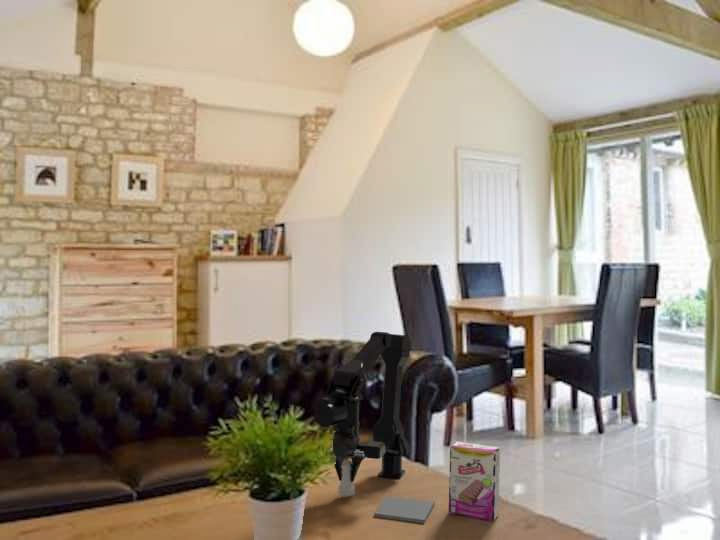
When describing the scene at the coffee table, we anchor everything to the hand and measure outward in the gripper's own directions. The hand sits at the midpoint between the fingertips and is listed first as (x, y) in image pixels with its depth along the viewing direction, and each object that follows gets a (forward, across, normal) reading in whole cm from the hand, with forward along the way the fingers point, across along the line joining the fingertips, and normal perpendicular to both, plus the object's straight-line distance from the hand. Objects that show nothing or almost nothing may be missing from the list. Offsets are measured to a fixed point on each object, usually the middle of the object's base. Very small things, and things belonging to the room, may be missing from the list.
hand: (346, 480), depth 159 cm
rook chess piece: (+3, 0, 0) cm, 3 cm away
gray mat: (+4, +16, -3) cm, 17 cm away
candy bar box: (+5, +32, 0) cm, 32 cm away
